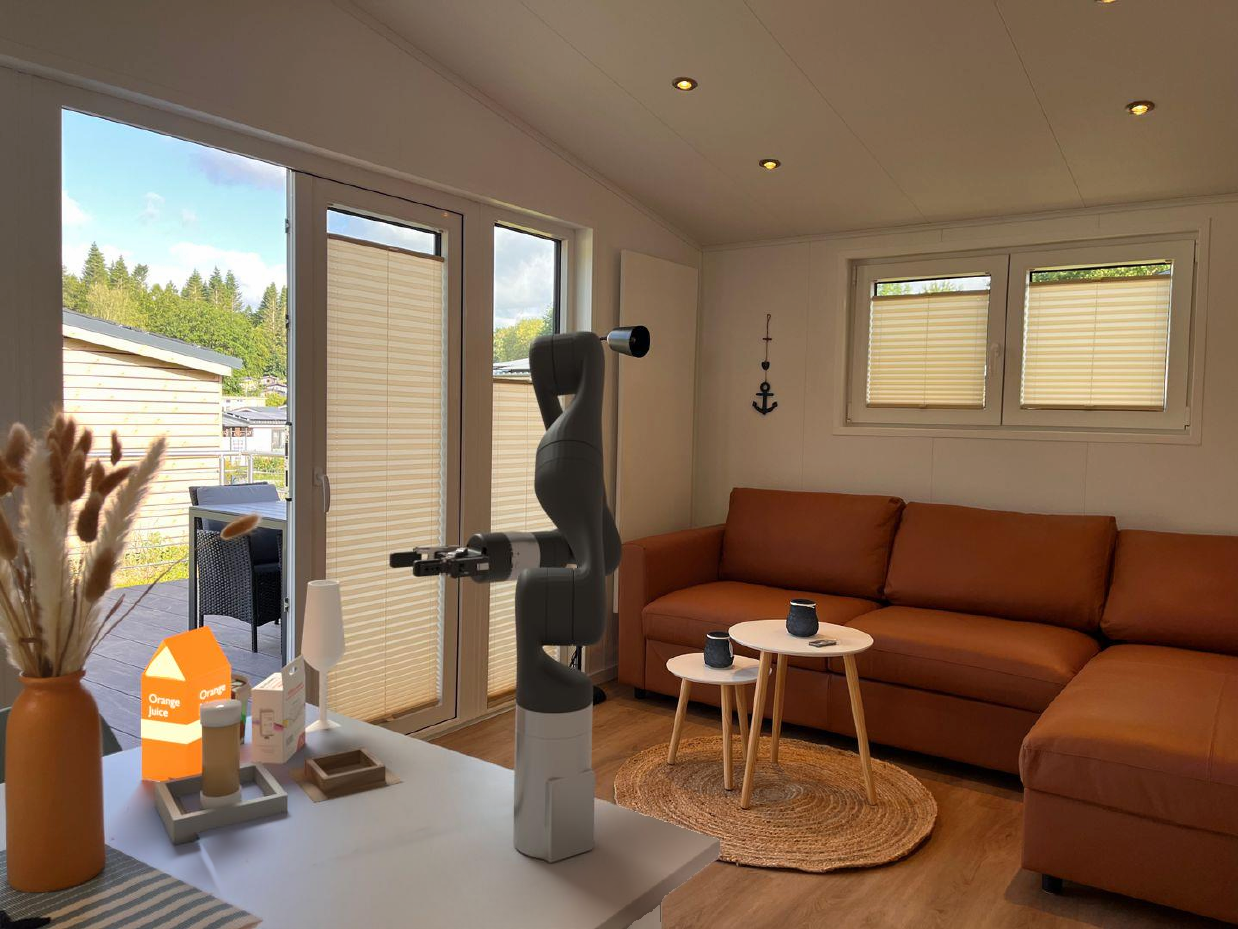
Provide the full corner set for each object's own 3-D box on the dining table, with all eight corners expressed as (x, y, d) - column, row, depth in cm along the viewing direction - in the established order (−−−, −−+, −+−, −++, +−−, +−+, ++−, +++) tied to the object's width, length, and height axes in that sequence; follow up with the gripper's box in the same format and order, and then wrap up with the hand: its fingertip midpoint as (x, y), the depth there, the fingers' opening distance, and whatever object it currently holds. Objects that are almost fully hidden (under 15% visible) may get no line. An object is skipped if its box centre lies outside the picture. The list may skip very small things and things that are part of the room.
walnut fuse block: (403, 789, 122) (403, 767, 122) (314, 810, 115) (314, 787, 115) (371, 760, 132) (371, 740, 132) (287, 778, 125) (287, 757, 125)
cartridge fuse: (245, 807, 114) (245, 707, 113) (204, 817, 111) (204, 713, 110) (236, 794, 117) (236, 696, 117) (196, 803, 115) (196, 703, 114)
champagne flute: (293, 737, 140) (294, 586, 139) (310, 723, 147) (311, 578, 146) (336, 739, 140) (336, 587, 139) (350, 724, 147) (351, 579, 146)
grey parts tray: (287, 818, 113) (287, 795, 112) (173, 845, 105) (173, 820, 105) (260, 782, 123) (260, 761, 123) (155, 805, 116) (155, 782, 115)
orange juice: (232, 763, 130) (231, 627, 129) (187, 787, 121) (186, 641, 120) (187, 757, 132) (186, 622, 131) (140, 780, 123) (139, 636, 122)
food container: (271, 742, 138) (271, 678, 138) (239, 756, 132) (239, 689, 132) (212, 729, 143) (212, 668, 143) (179, 742, 138) (179, 678, 137)
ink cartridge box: (274, 747, 136) (274, 652, 135) (306, 748, 136) (306, 653, 135) (249, 769, 128) (249, 668, 127) (284, 770, 128) (284, 669, 127)
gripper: (481, 527, 142) (383, 532, 132) (527, 537, 130) (422, 544, 121) (481, 574, 142) (382, 583, 132) (526, 588, 131) (422, 599, 121)
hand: (401, 564), depth 127 cm, fingers open, 8 cm apart
